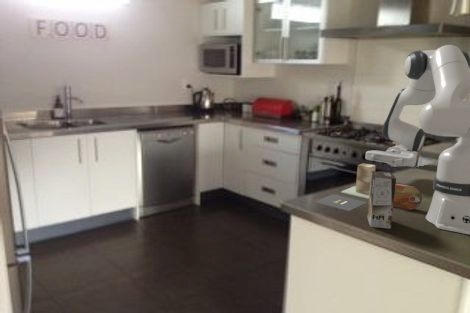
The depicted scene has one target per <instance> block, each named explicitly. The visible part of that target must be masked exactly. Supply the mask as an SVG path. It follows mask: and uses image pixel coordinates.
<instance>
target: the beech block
mask: <svg viewBox="0 0 470 313" xmlns="http://www.w3.org/2000/svg"><path fill="white" fill-rule="evenodd" d="M376 166H377V165H375V164H372V163H371V164H370V163H364V162H363V163H360V164H358V165H357V169H356V170H357V172H356V179H355V180H356V181H355V182H356V183H355V186H356V192H357V193H361V194H366V195H368V194H369V192H370V180H371V171H376Z"/></svg>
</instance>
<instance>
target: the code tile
mask: <svg viewBox="0 0 470 313" xmlns="http://www.w3.org/2000/svg"><path fill="white" fill-rule="evenodd" d="M314 203H316V204H321V205H325V206H328V207H332V208H336V209H339V210H344V211H347V212H350V211H352V210H354V209H357V208H359V207H360V206H363V205H364V204H367V203H368V202H367V201H363V200H360V199H356V198H351V197H349V196H348V197H346V196H343V195H339V194H335V193H332V194H330V195H327V196H325V197H322V198H320V199H318V200H316V201H314Z"/></svg>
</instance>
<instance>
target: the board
mask: <svg viewBox="0 0 470 313" xmlns="http://www.w3.org/2000/svg"><path fill="white" fill-rule="evenodd" d="M340 193H341V194H345V195H349V196H353V197H358V198H361V199H362V198H363V199H366V200H369V194H368V195H366V194H361V193H357V192H356V185H354V186H351V187H350V188H346V189H344V190H342V191H340Z"/></svg>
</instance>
